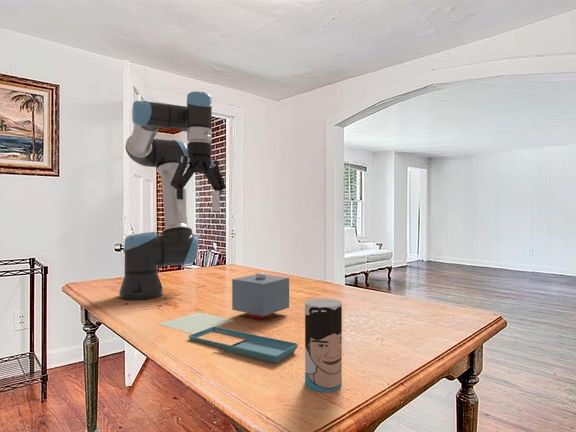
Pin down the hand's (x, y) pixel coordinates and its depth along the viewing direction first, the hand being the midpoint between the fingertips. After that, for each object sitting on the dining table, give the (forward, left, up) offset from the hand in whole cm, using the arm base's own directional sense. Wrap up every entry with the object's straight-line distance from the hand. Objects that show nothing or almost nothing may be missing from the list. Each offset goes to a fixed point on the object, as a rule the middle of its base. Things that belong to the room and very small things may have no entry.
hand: (199, 210), depth 123 cm
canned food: (+20, +6, -32) cm, 38 cm away
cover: (+20, +6, -29) cm, 36 cm away
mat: (+10, -10, -32) cm, 35 cm away
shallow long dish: (+33, -16, -32) cm, 49 cm away
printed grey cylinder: (+58, -21, -32) cm, 69 cm away
